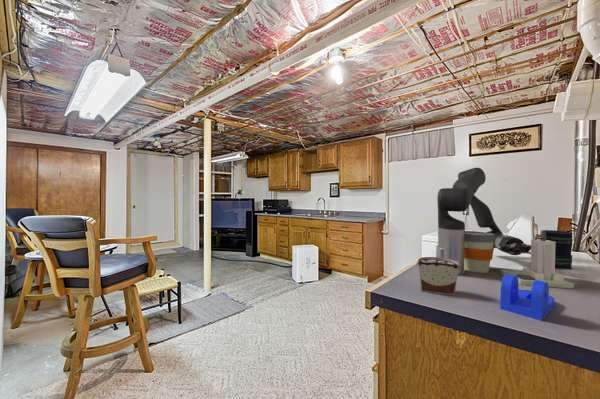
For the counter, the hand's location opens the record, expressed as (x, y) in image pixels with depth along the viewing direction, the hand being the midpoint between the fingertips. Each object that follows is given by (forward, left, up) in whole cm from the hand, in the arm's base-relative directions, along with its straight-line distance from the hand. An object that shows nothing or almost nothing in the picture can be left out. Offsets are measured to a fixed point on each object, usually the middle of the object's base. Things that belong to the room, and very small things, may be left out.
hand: (532, 252), depth 99 cm
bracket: (-17, -31, -9) cm, 36 cm away
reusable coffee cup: (-17, +5, -9) cm, 20 cm away
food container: (-39, -24, -9) cm, 47 cm away
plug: (0, -6, -7) cm, 9 cm away
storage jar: (+19, +19, -9) cm, 29 cm away
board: (-2, -5, -9) cm, 11 cm away
